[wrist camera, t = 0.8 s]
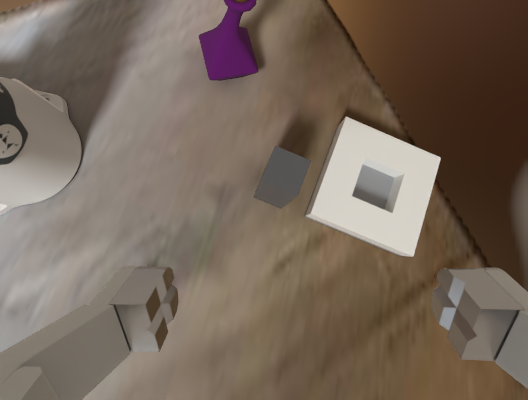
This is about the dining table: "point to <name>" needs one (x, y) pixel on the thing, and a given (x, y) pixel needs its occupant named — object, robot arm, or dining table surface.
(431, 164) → the socket block
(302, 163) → the plug
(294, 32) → the dining table surface
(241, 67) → the perfume bottle
